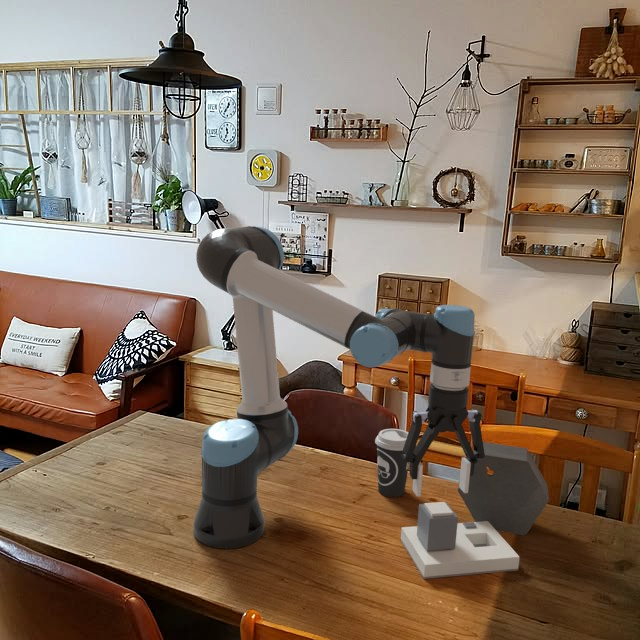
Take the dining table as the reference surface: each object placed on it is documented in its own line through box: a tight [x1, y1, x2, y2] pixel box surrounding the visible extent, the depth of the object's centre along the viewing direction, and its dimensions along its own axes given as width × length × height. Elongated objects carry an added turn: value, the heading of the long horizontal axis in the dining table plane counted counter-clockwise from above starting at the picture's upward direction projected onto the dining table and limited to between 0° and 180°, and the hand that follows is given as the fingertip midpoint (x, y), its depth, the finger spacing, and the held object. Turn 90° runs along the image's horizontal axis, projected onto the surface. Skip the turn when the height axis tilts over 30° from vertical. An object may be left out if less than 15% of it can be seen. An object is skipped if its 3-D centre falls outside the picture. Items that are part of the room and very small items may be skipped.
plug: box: [416, 501, 459, 551], centre depth 131 cm, size 6×6×11 cm
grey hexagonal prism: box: [457, 441, 550, 536], centre depth 145 cm, size 17×8×21 cm
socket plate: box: [400, 521, 520, 580], centre depth 133 cm, size 20×14×3 cm
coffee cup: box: [374, 428, 410, 498], centre depth 159 cm, size 10×10×15 cm
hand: (440, 491), depth 130 cm, fingers open, 9 cm apart
